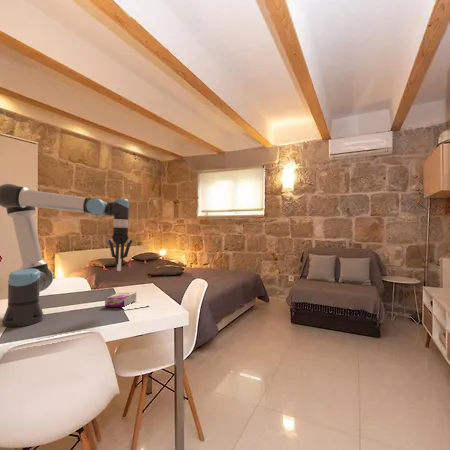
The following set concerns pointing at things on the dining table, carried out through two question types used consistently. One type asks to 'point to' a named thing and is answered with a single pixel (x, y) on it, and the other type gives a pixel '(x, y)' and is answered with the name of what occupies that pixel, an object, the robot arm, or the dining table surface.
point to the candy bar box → (120, 299)
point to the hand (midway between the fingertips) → (118, 270)
